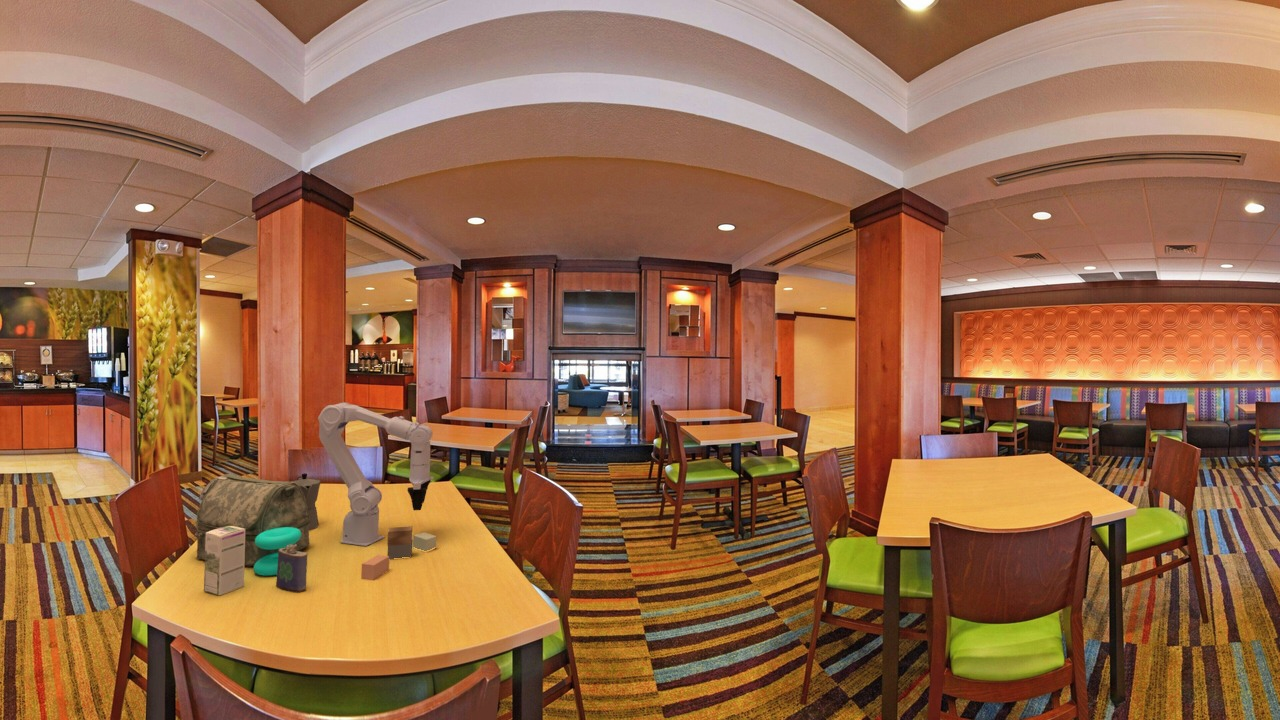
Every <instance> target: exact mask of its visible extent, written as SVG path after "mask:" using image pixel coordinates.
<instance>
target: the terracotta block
mask: <svg viewBox="0 0 1280 720" xmlns="http://www.w3.org/2000/svg"><path fill="white" fill-rule="evenodd" d="M388 570H389V571H390V560H389V556H387V555H380V554H377V555H375V556H373V557H371V558H369V559H368V560H366V561H364V562H362V563H361V575H360V576H361V578H360V579H361V580H367V581H374V579H375V580H376V579H378V578H380V577H381V576H383V575H384V574H386V573H387V572H389V571H388ZM386 571H387V572H386ZM385 572H386V573H385ZM383 573H384V574H383ZM380 575H381V576H380ZM377 577H378V578H377Z"/></svg>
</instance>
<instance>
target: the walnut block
mask: <svg viewBox="0 0 1280 720" xmlns="http://www.w3.org/2000/svg"><path fill="white" fill-rule="evenodd" d="M413 527H414V526H413V525H412V526H410V525H409V526H399V527H398V526H396V527H389V528H388V531H387V546H386V547H388V546H393V545H405V544H411V541H412V540H413ZM412 542H413V541H412Z"/></svg>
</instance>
